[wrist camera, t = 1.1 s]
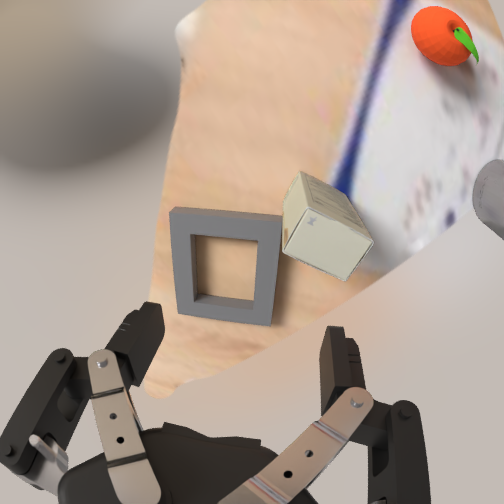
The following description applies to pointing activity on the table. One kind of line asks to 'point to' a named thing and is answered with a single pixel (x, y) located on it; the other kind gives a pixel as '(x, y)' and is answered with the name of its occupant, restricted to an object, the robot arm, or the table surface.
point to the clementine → (442, 36)
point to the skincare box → (323, 228)
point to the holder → (228, 226)
